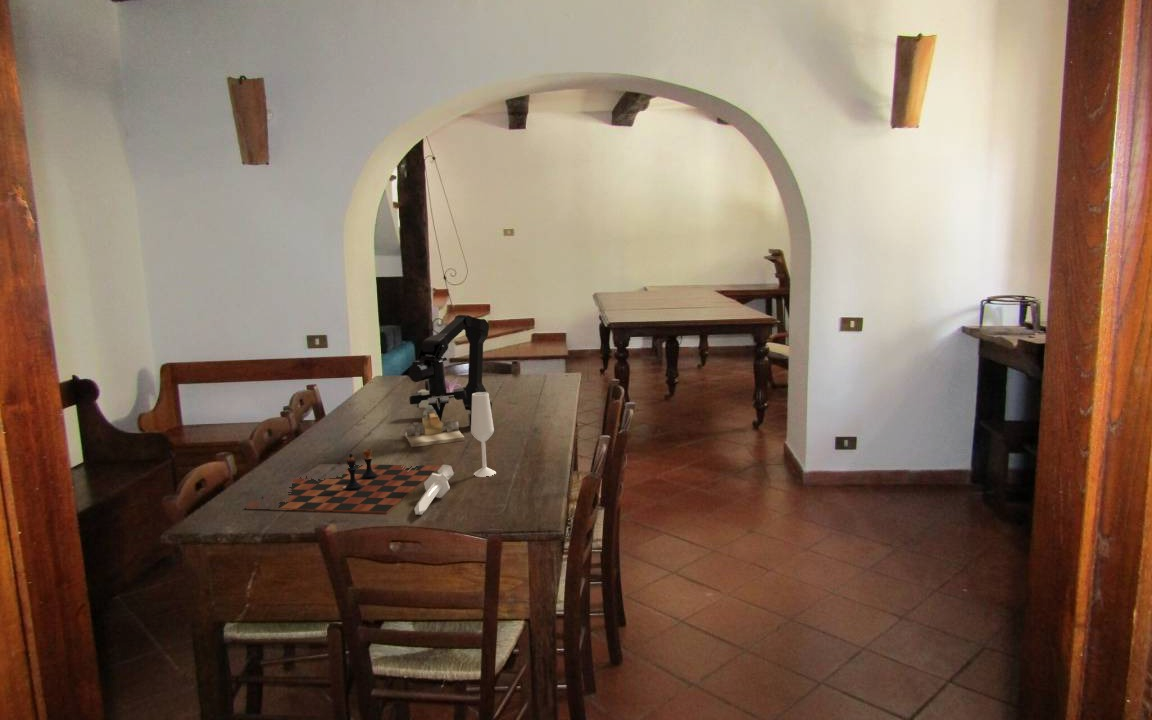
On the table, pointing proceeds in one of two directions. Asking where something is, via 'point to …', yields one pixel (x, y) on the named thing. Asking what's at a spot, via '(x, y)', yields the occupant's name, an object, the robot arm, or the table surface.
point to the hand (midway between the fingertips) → (440, 420)
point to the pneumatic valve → (426, 403)
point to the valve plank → (435, 438)
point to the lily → (451, 385)
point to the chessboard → (357, 488)
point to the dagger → (434, 488)
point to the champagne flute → (482, 427)
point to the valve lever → (433, 417)
